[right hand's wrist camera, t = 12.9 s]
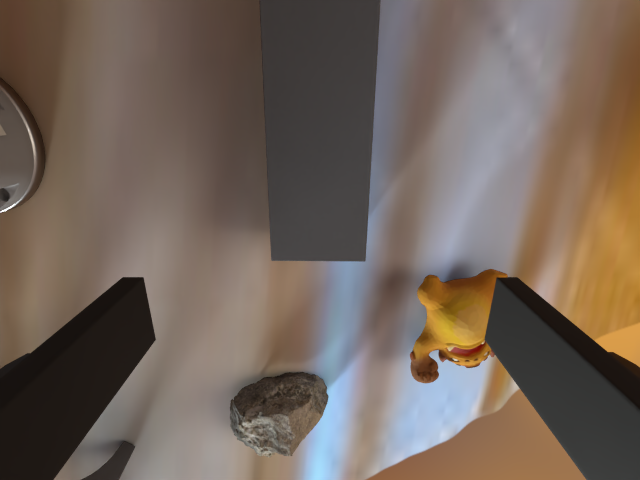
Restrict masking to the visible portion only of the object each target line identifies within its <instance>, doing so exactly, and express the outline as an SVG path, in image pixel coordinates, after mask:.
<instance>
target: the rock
mask: <svg viewBox="0 0 640 480" xmlns="http://www.w3.org/2000/svg"><path fill="white" fill-rule="evenodd" d="M326 390H327V387H326V385H325V383H324V381H323V379H320V378H319V377H318V376H316V375H313V374H312V375H309V374H308V373H304V372H300V373H285V374H282V375H280V376H277V377H273V378H272V377H265V378H263V379H262V380H260V381H258V382H257V383H255V384H254V383H253V384H250V385H248V386H246V387H244V388H242V389H241V391H240V392H239V393H238V395H237V396H235V397H234V401H233V399H232V400H231V406H230V411H231V414H230V420H231V429H232V430H233V432H234V435H235V436H236V437H237V439H238V440H239V441H242V442H244V444H245V445H246V446H249V447H250V448H252V449H254V450H255V452H256V453H257V454H258V455H259V456H263V455H265V456H267V457H271V456H272V455H274V454H275V452H276V453H278V454H282V455H284V456H292V454H293V452H294V451H295V450H296V448H297V447H298V445H299V444H300V442H301V441H302V440H303V439H304V438H305V437H306V435H307V434H308V433H309V432H310V431H311V430H312V429H313V428H314V426H315V425H316V424H317V423H318V422H319V420H320V418H321V417H322V415H323V412H324V409H325V407H326V404H327V402H328V397H329V396H328V395H327V393H326Z"/></svg>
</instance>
